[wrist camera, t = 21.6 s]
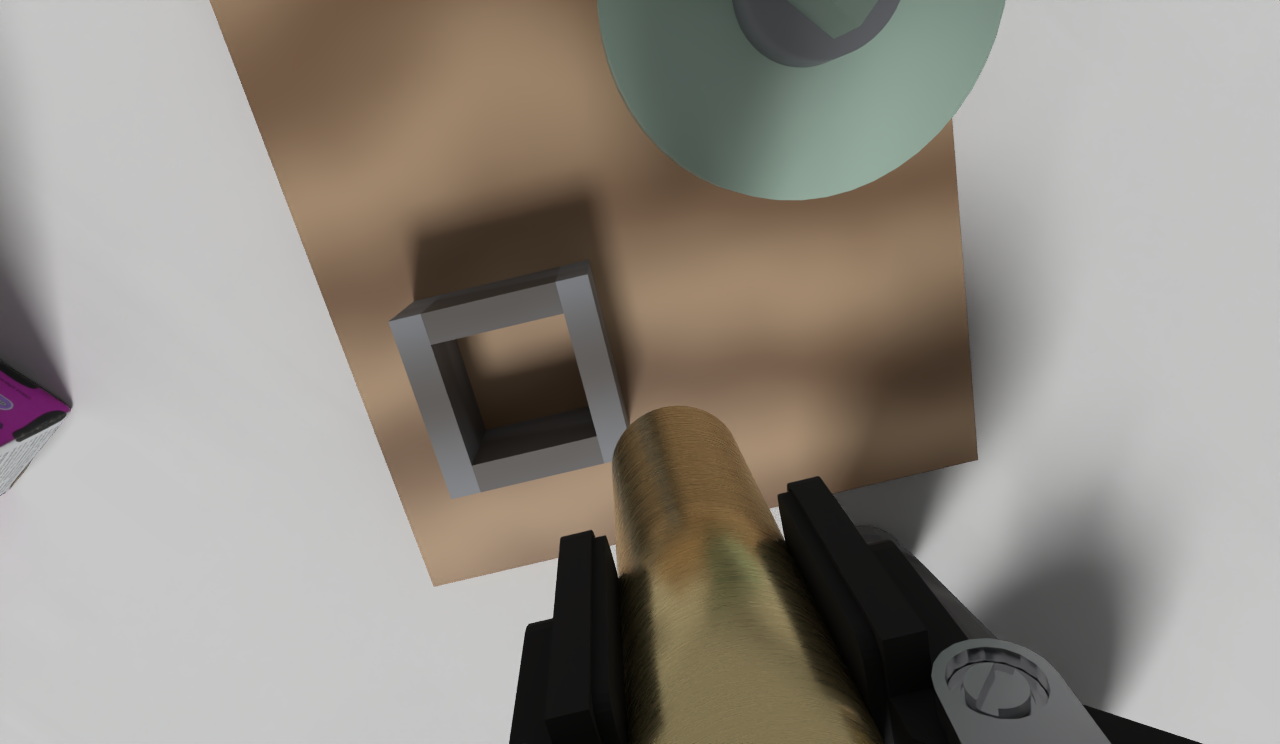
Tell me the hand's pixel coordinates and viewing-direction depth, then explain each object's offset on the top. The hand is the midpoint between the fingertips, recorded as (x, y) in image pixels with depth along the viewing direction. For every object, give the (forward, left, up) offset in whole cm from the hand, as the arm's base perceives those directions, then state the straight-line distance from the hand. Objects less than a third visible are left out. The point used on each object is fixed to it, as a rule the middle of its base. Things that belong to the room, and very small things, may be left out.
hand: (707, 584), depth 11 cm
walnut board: (+5, -1, -15) cm, 16 cm away
